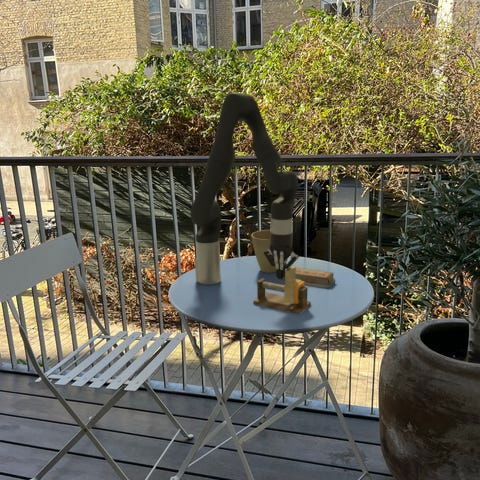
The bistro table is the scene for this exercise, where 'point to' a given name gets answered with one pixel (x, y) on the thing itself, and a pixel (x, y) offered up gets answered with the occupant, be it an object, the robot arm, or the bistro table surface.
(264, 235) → the plant pot
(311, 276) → the packaged product
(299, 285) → the orange upright board
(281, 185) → the robot arm
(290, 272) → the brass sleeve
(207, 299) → the bistro table surface
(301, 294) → the pipe board
